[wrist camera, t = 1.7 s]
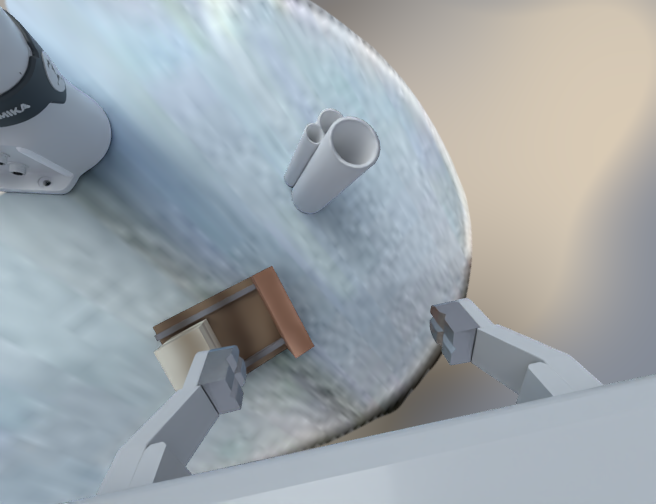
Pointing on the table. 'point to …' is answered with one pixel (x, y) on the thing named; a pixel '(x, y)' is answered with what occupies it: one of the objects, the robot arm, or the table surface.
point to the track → (247, 320)
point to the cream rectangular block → (185, 351)
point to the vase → (330, 159)
